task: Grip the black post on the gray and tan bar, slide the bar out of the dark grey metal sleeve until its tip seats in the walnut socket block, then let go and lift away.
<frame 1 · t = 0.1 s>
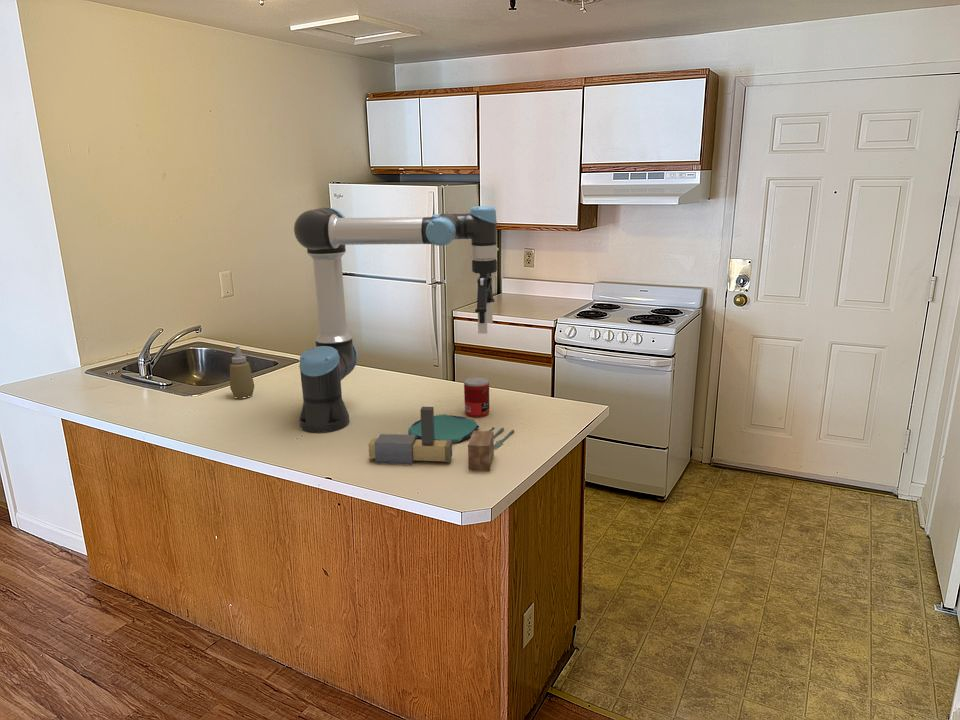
hand: (485, 328, 211), 28 cm above the countertop, tool pointing down, fingers open, 13 cm apart
cutlery set: (458, 436, 202), on the countertop
squeeze bottle: (243, 397, 239), on the countertop
socket block: (481, 462, 183), on the countertop
canned food: (477, 414, 219), on the countertop
sleeve: (396, 459, 186), on the countertop
gray and tan bar: (409, 432, 183), point 8 cm above the countertop, slide at 0.0 cm
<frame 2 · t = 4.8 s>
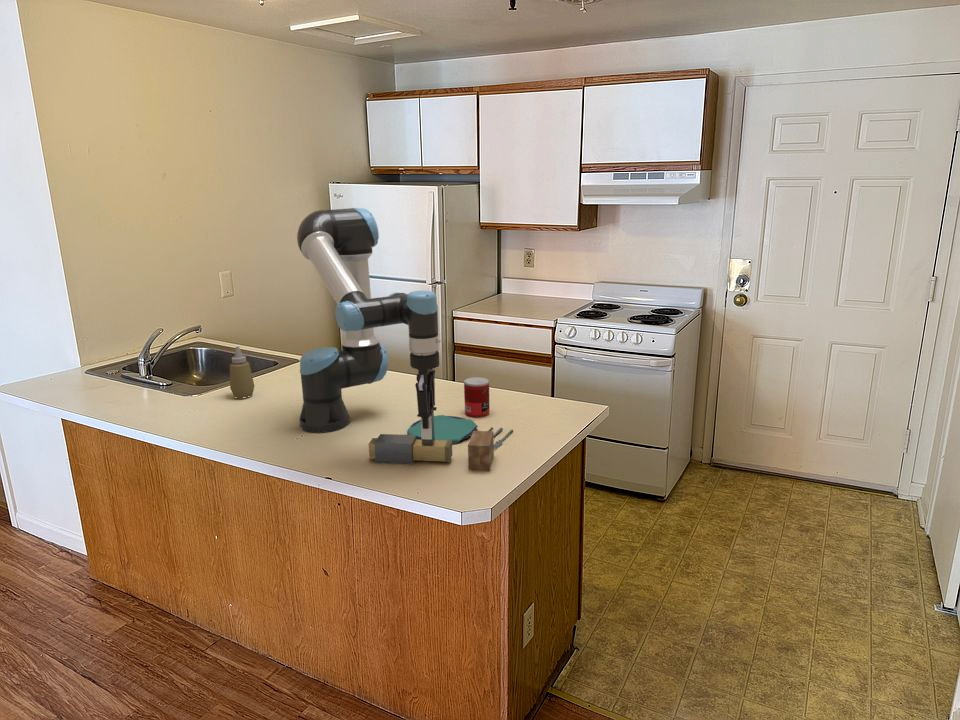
hand: (428, 436, 182), 7 cm above the countertop, tool pointing down, fingers closed on gray and tan bar, 2 cm apart
gray and tan bar: (409, 432, 183), point 8 cm above the countertop, slide at 0.0 cm, touching gripper
everything else where it was.
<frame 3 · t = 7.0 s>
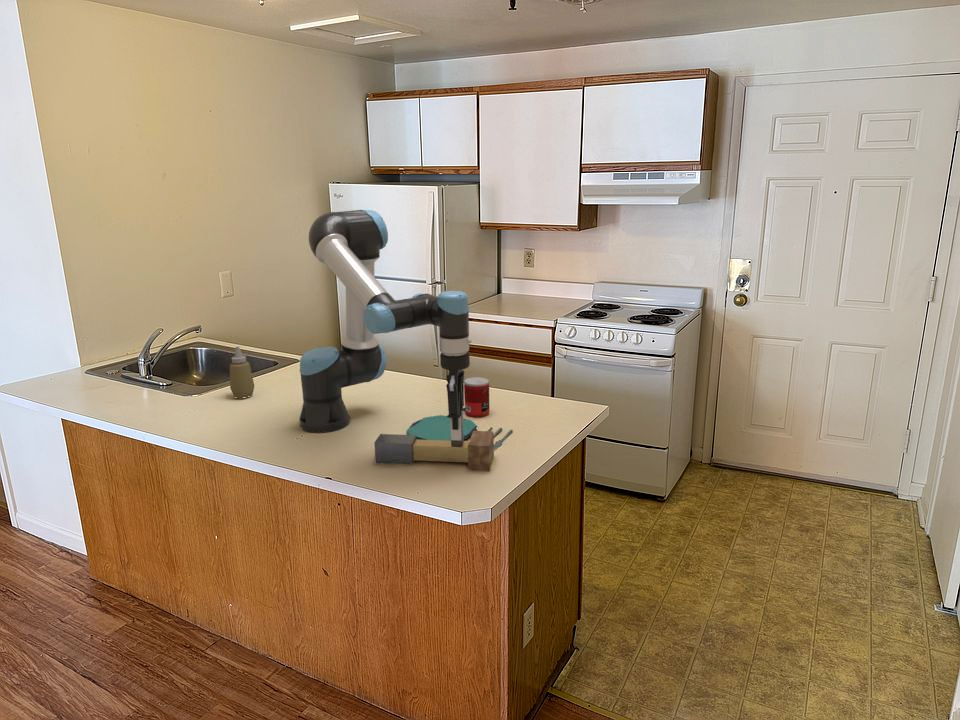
hand: (457, 437, 181), 7 cm above the countertop, tool pointing down, fingers closed on gray and tan bar, 2 cm apart
gray and tan bar: (438, 433, 182), point 8 cm above the countertop, slide at 7.9 cm, touching gripper
everything else where it was.
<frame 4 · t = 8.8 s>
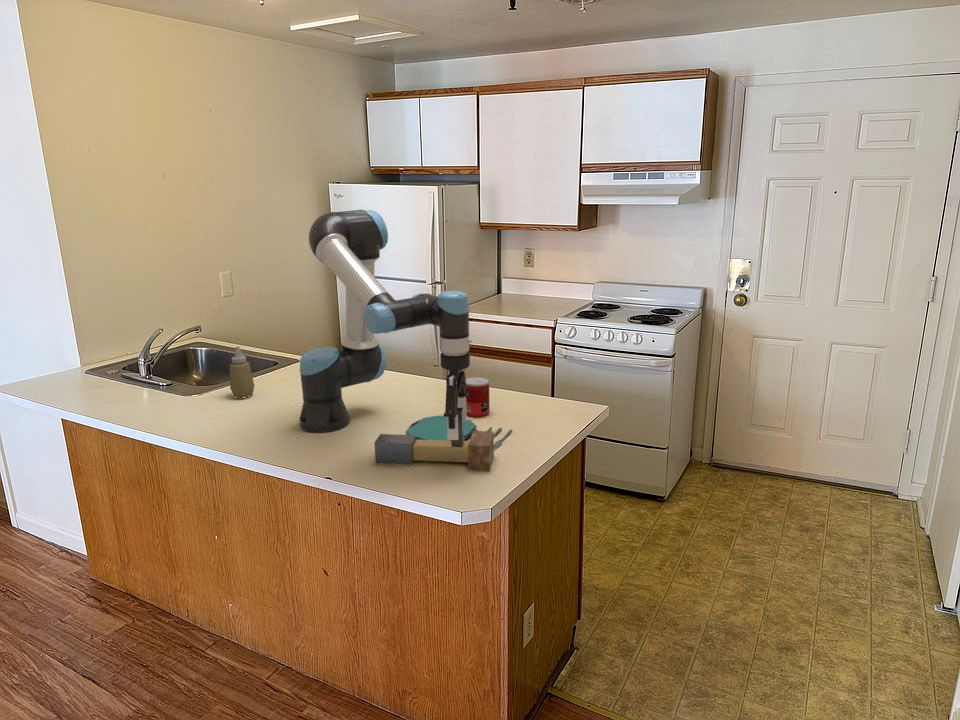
hand: (457, 429, 181), 9 cm above the countertop, tool pointing down, fingers open, 13 cm apart
gray and tan bar: (438, 433, 182), point 8 cm above the countertop, slide at 8.0 cm
everything else where it was.
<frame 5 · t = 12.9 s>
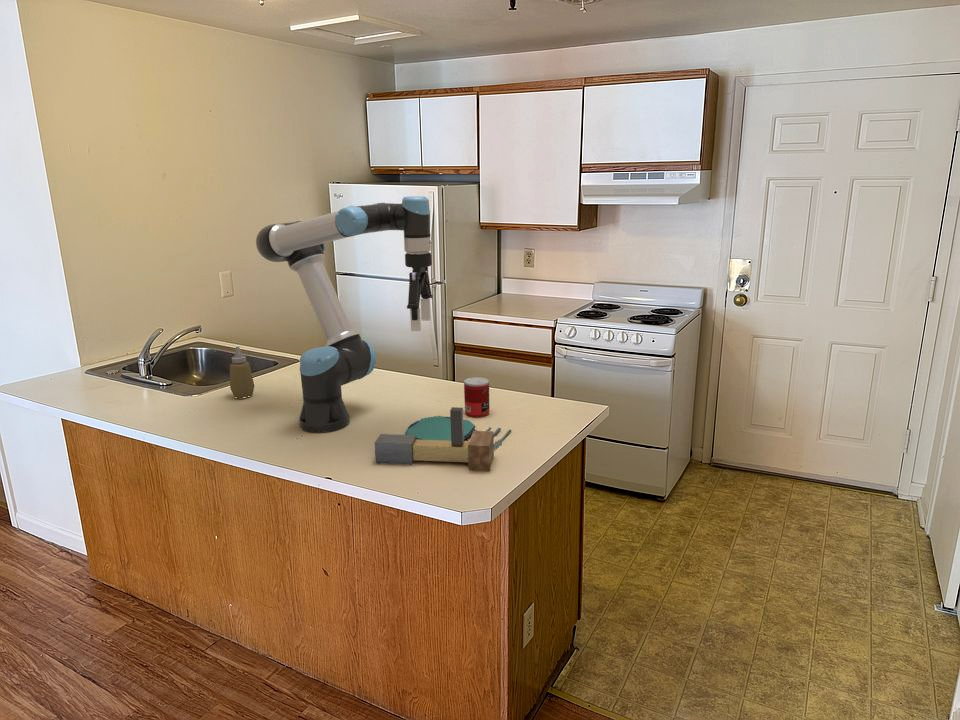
hand: (421, 325, 199), 32 cm above the countertop, tool pointing down, fingers open, 13 cm apart
at the end: gray and tan bar slide at 8.0 cm; the gripper is holding nothing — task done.
